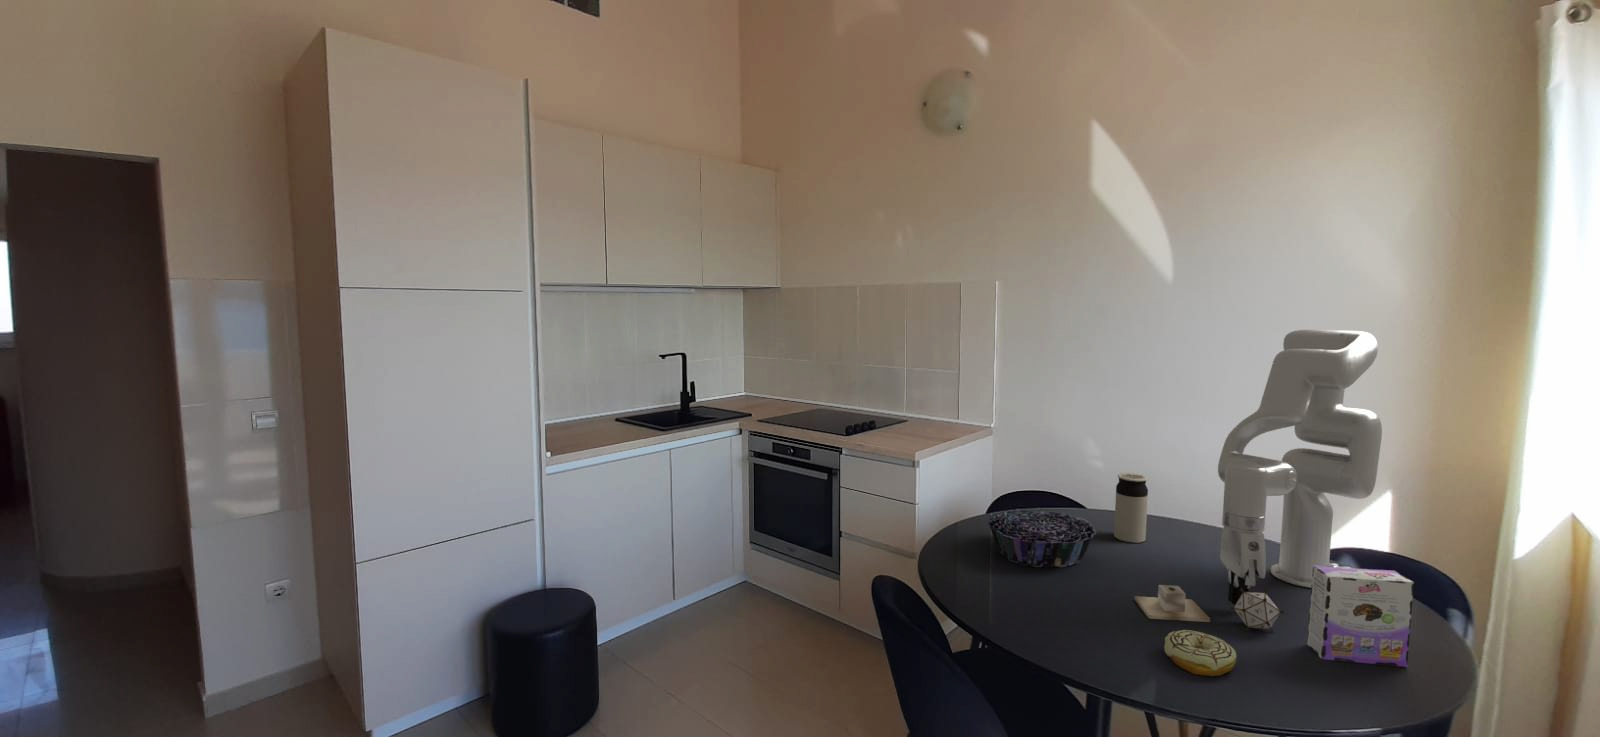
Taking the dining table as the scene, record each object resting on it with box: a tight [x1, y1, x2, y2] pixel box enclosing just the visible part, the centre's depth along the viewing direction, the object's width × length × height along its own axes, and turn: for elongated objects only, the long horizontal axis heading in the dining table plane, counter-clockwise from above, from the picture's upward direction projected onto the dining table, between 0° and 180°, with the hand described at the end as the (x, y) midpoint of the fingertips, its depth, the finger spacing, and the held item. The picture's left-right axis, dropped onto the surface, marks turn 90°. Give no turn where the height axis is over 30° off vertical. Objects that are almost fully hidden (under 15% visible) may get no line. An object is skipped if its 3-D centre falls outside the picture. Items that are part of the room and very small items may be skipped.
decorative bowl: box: [987, 509, 1098, 568], centre depth 177 cm, size 26×28×10 cm
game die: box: [1228, 588, 1287, 633], centre depth 136 cm, size 9×8×10 cm
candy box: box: [1306, 565, 1415, 668], centre depth 125 cm, size 14×6×16 cm, turn 77°
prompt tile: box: [1133, 584, 1211, 623], centre depth 145 cm, size 12×9×5 cm
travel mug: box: [1113, 472, 1149, 544], centre depth 187 cm, size 8×8×18 cm
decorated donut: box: [1163, 629, 1237, 677], centre depth 124 cm, size 11×12×4 cm
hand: (1237, 602), depth 144 cm, fingers closed
